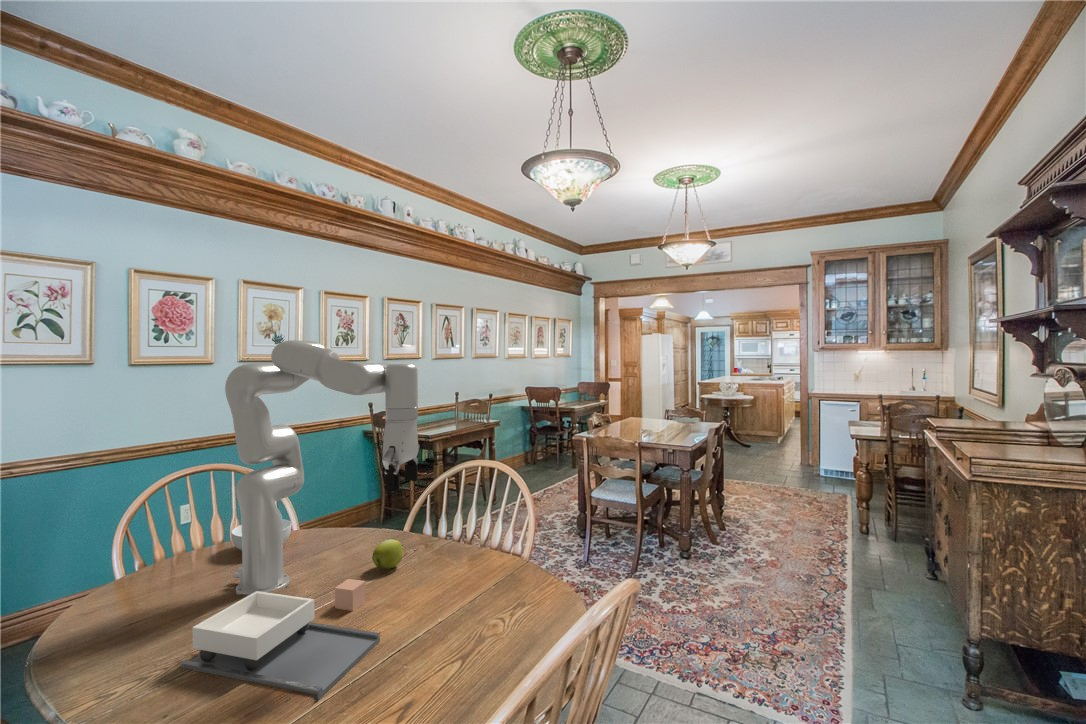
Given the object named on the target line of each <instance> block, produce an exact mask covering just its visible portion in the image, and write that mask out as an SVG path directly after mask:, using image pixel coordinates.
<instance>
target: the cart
mask: <svg viewBox="0 0 1086 724" xmlns="http://www.w3.org/2000/svg"><path fill="white" fill-rule="evenodd" d="M315 613H316V611H315V598H308V597H301V596H296V595H295V596H294V595H286V594H280V593H279V594H278V593H274V592H260V591H256V592H254V593H252V594H251V595H247V596H245V597H243V598H241V599H240V600H239V601H237V602H234V603H233V604H232V605H229V606H228V607H226V608H224V609H223V610H220V611H219V612H217V613H216V614H213V615H212V616H210V617H208V618H206V619H204V620H202V621H200V623H197V624H196V625H194V626H192V628H191V629H192V630H191V631H192V649H193V650H194V649H195V650H199V655H200V657H201V659H202V660H203V661H204V662H208V661H210V660H211V659H213V658H214V657H215V656H216V653H221V654H226V655H231V656H236V657H242V658H245V661H244V664H245V667H246V668H247V669H248V670H249V671H253V670H254V669H256V668H257V667H258V666H260V664H261V657H262V656H263V655H265V654H266V653H268V652H269V651H270V650H272V649H273V648H274V647H276V646H277V645H279V644H280V643H281V642H283V641H284V640H285V639H287V638H288V637H290V636H291V635H292V634H294V633H295V632H297V633H298V634H303V633H304V632H305V631H307V630H308V628H309V622H312V621H313V620H314V619H316V618H315Z"/></svg>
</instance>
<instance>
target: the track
mask: <svg viewBox="0 0 1086 724" xmlns="http://www.w3.org/2000/svg"><path fill="white" fill-rule="evenodd" d="M380 637H381V634H380V632H377V631H376V632H374V631H369V630H365V629H364V630H363V629H356V628H349V627H344V626H337V625H331V624H327V623H326V624H325V623H324V624H323V623H318V622H314V621H313V622H312V621H310V622H309V628H308V630H307V631H305V632H304V633H303V634H298V633H297V632H295V633H294V634H292V635H291V636H290V637H288V638H287V639H285V640H284V641H283V642H281V643H280V644H279V645H277V646H276V647H274V648H273V649H272V650H270V651H269V652H268V653H266V654H265V655H263V656H262V657H261V664H260V666H258V667H257V668H256V669H254V670H253V671H249V670H248V669H247V668H246V667H245V664H244V661H245V658H242V657H236V656H231V655H226V654H221V653H216V656H215V657H214V658H213V659H211V660H210V661H208V662H204V661H203V660H202V659H201V657H200V654H198V655H196V656H195V657H194V658H192V659H190V660H189V659H188V660H187V659H185V660H182V661H180V662H179V668H181V669H187V670H193V671H197V672H201V673H206V674H212V675H216V676H221V677H226V678H232V679H236V680H242V681H246V682H251V683H256V684H261V685H266V686H271V687H275V688H281V689H286V690H290V691H296V692H301V693H306V694H309V695H315V697H313V701H320V700H321V699H322V698H323V697H324V696H325V695H326V694H327V693H328V692H329V691H330V690H331V689H333V687H335V685H336V684H337V683H339V681H340V680H342V679H343V678H344V676H345V675H347V674H348V673H349V672H350V671H351V670H352V669H353V668H354V667H355V666H356V665H357V664H358V663H359V662H360V661H361V660H362V659H363V658H364V657H366V655H367V654H369V653H370V651H371V650H372V649H374V648H375V647H376V646H377V645H378V644H379V643H380V641H381V638H380Z"/></svg>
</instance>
